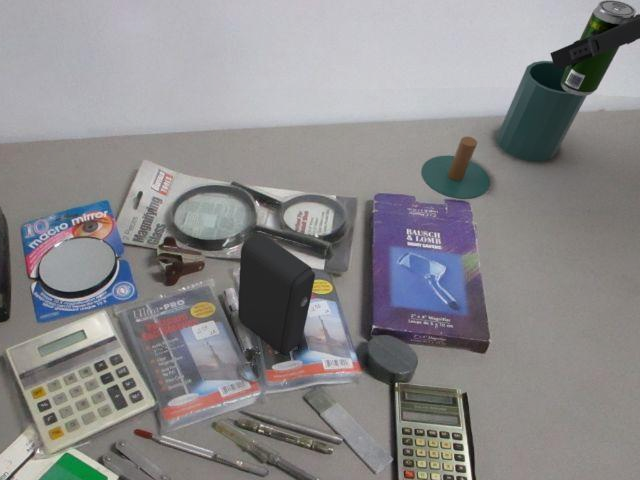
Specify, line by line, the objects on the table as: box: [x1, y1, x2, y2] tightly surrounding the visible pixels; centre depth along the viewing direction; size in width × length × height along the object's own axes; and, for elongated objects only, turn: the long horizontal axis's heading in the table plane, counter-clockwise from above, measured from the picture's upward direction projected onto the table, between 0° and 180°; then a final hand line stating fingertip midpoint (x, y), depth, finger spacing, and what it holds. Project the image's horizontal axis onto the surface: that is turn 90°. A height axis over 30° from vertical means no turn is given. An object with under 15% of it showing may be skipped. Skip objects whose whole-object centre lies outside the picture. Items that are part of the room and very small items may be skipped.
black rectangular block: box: [237, 233, 316, 356], centre depth 74 cm, size 9×4×15 cm, turn 45°
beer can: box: [561, 0, 637, 97], centre depth 87 cm, size 5×5×12 cm
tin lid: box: [421, 136, 490, 200], centre depth 99 cm, size 11×11×8 cm
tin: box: [496, 60, 587, 163], centre depth 103 cm, size 10×10×14 cm
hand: (566, 55), depth 90 cm, fingers closed on beer can, 5 cm apart
